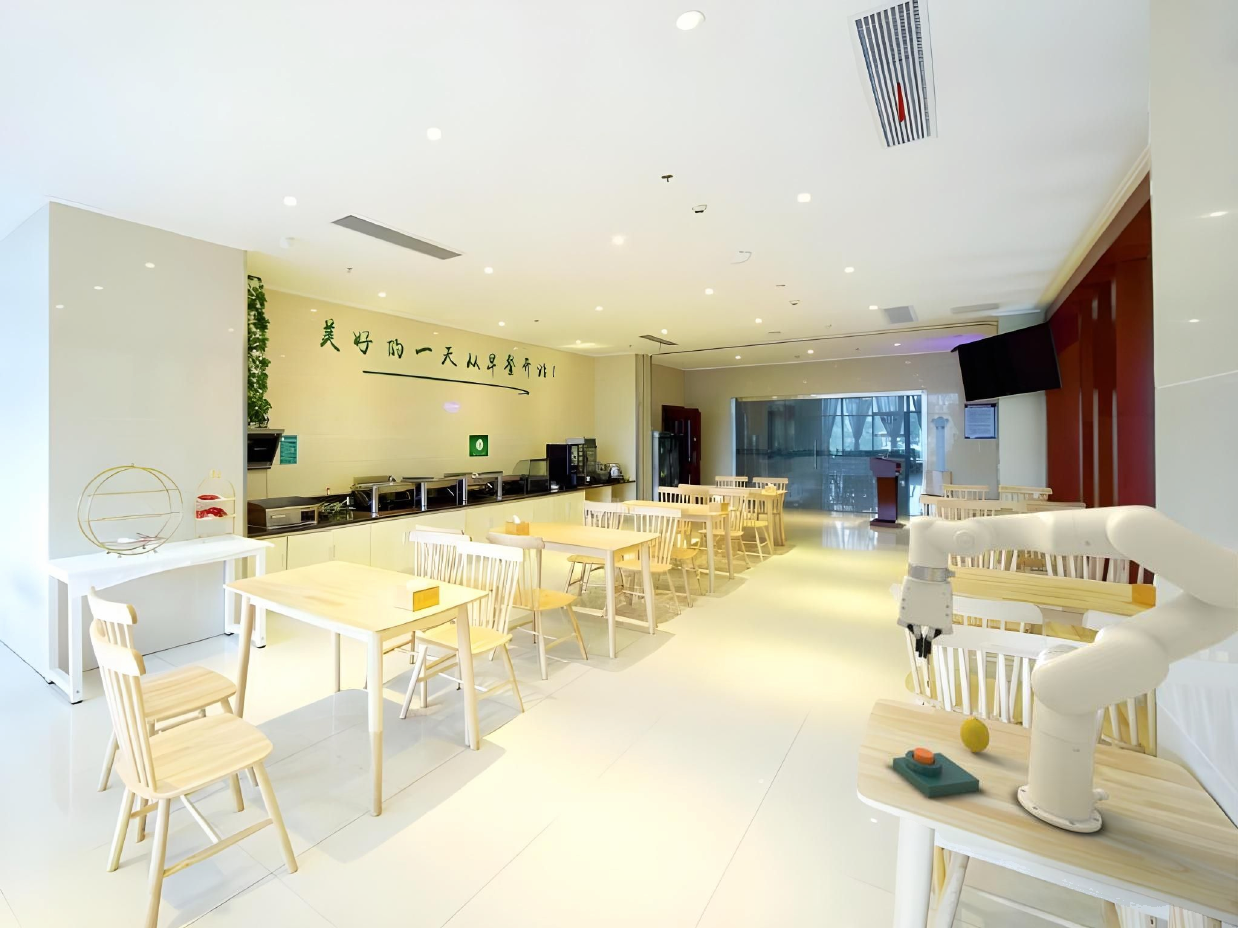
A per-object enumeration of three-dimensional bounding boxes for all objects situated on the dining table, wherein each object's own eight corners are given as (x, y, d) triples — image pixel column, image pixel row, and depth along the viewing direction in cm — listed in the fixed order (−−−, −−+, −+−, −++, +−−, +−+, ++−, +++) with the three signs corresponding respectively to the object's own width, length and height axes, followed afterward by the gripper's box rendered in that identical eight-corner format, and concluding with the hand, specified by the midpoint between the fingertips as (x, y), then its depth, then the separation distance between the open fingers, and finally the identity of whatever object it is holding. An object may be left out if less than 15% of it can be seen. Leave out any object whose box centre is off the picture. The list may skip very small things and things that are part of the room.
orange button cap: (924, 754, 118) (924, 746, 118) (937, 764, 114) (937, 756, 114) (909, 756, 117) (910, 748, 117) (922, 766, 114) (923, 757, 114)
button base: (939, 762, 122) (940, 744, 121) (978, 790, 112) (980, 771, 112) (892, 767, 119) (893, 749, 119) (928, 797, 109) (929, 777, 109)
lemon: (960, 742, 130) (962, 709, 130) (988, 751, 127) (990, 716, 126) (958, 753, 125) (960, 718, 125) (987, 762, 122) (989, 726, 122)
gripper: (967, 575, 120) (963, 658, 121) (891, 565, 128) (887, 643, 129) (968, 582, 114) (962, 670, 115) (887, 571, 122) (883, 653, 122)
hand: (922, 655), depth 122 cm, fingers closed
